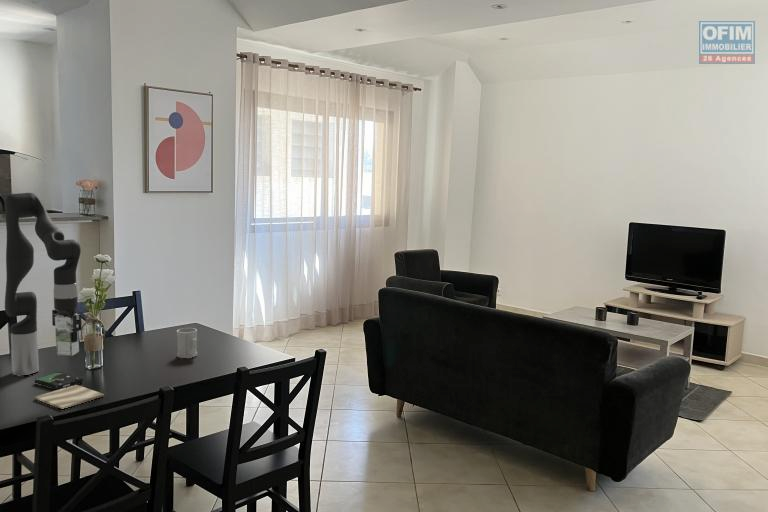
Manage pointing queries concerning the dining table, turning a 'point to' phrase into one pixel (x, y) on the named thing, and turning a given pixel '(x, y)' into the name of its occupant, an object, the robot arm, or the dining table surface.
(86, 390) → the birch board
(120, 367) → the dining table surface
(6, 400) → the dining table surface
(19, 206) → the robot arm
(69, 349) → the syrup box
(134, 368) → the dining table surface
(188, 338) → the cup
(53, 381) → the disk drive
